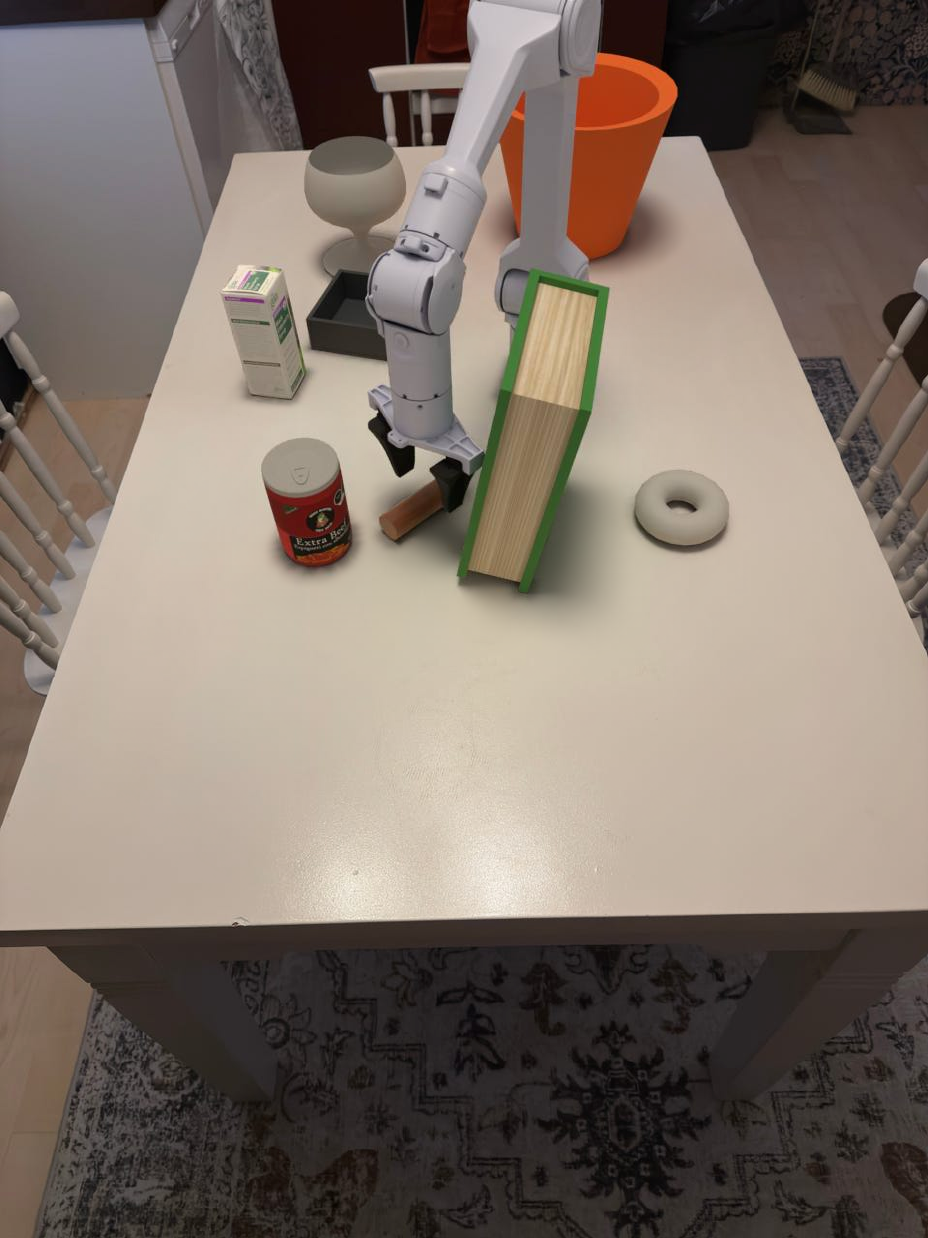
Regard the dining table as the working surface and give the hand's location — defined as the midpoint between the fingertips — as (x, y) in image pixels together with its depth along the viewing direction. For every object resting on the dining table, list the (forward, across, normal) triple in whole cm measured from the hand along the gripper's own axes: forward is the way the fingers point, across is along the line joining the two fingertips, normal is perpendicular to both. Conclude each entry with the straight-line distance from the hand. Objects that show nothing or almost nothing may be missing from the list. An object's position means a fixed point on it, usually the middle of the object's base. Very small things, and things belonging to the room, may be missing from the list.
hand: (428, 489), depth 88 cm
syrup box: (+5, -32, +3) cm, 32 cm away
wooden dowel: (+4, 0, 0) cm, 4 cm away
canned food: (+5, -6, -11) cm, 13 cm away
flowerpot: (+5, -29, +56) cm, 63 cm away
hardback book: (+4, +6, +5) cm, 9 cm away
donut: (+5, +19, +19) cm, 27 cm away
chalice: (+5, -46, +29) cm, 54 cm away
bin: (+4, -32, +19) cm, 37 cm away
